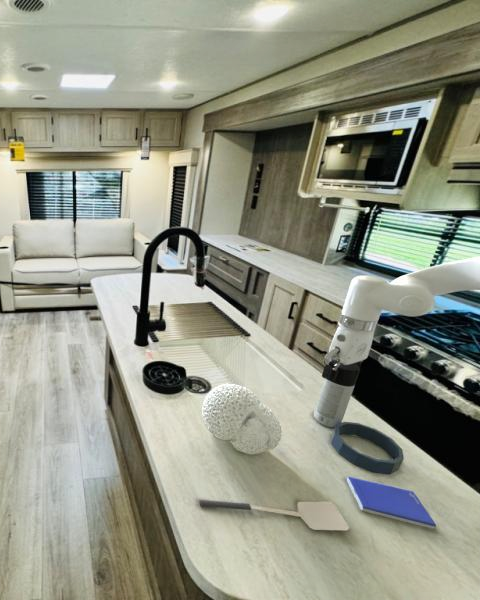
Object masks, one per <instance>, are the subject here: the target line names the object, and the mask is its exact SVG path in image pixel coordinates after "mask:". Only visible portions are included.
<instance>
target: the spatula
mask: <svg viewBox="0 0 480 600" xmlns="http://www.w3.org/2000/svg"><path fill="white" fill-rule="evenodd" d="M198 503H199V506H201V507H206V508H207V507H209V508H218V509H219V508H220V509H233V510H242V511H243V510H245V511H252V510H256V511H262V512H263V511H264V512H269V513H274V514H279V515H286V516H292V517H298V518H300V519H301V520H302V521H303V522H304V523H305V524H306V525H307V527H309V529H311V530H313V531H344V532H346V531H349V530H350V526H349V525H348V524H347V522H346V520H345V519H344V517H343V516H342V514H341V512H340V511H339V508H337V505H336V504H335V503H334V502H331V501H298V502H297V505H296V506H297V511H293V510H287V509H278V508H272V507H264V506H256V505H250V503H245V502H231V501H221V500H219V501H218V500H208V499H207V500H206V499H199V500H198Z"/></svg>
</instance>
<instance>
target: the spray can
mask: <svg viewBox="0 0 480 600" xmlns="http://www.w3.org/2000/svg"><path fill="white" fill-rule="evenodd" d="M332 362H333V363H334V365H335V364H336V363H337V361H334V360H332ZM337 370H339V371H338V374H337V377H336V380H335V382H331V381H329V380H327V379H325V378H324V381H323V384H322V387H321V390H320V393H319V397H318V400H317V402H316V406H315V409H314V412H313V418H314V420H316V421H317V422H318V423H319V424H321V425H322V426H326V427H328V428H335V426H336V425H337V424H340V423H342V422H343V419H344V417H345V414H346V410H347V408H348V405H349V403H350V400H351V397H352V396H353V395H352V394H353V392H354V388H355V386H356V383H357V379H358V377H359V374H360V371H361V367H360V368H359V367H358V366H357V365H356V364H354V363H352V364H349V365H344V364H343V363H342V364H341V365H340V366H339V367H338V369H337Z"/></svg>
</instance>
